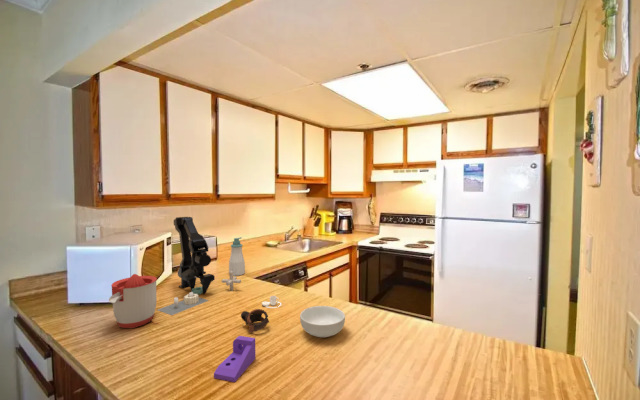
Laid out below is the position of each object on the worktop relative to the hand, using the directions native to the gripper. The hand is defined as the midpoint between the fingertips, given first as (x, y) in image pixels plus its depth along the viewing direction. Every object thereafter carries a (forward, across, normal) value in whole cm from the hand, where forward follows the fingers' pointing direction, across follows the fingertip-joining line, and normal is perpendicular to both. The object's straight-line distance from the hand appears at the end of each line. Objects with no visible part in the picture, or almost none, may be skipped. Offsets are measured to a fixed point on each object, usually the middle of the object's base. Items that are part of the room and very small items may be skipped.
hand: (198, 292), depth 151 cm
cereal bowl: (+1, +75, -2) cm, 75 cm away
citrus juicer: (+1, +5, -34) cm, 34 cm away
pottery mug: (+1, +50, -12) cm, 51 cm away
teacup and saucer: (+2, +39, +10) cm, 40 cm away
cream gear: (0, +8, -10) cm, 13 cm away
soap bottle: (+1, -10, +36) cm, 37 cm away
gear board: (+1, +8, -14) cm, 16 cm away
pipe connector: (+1, +10, +13) cm, 16 cm away
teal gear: (+1, 0, 0) cm, 1 cm away
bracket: (+2, +63, -34) cm, 72 cm away
